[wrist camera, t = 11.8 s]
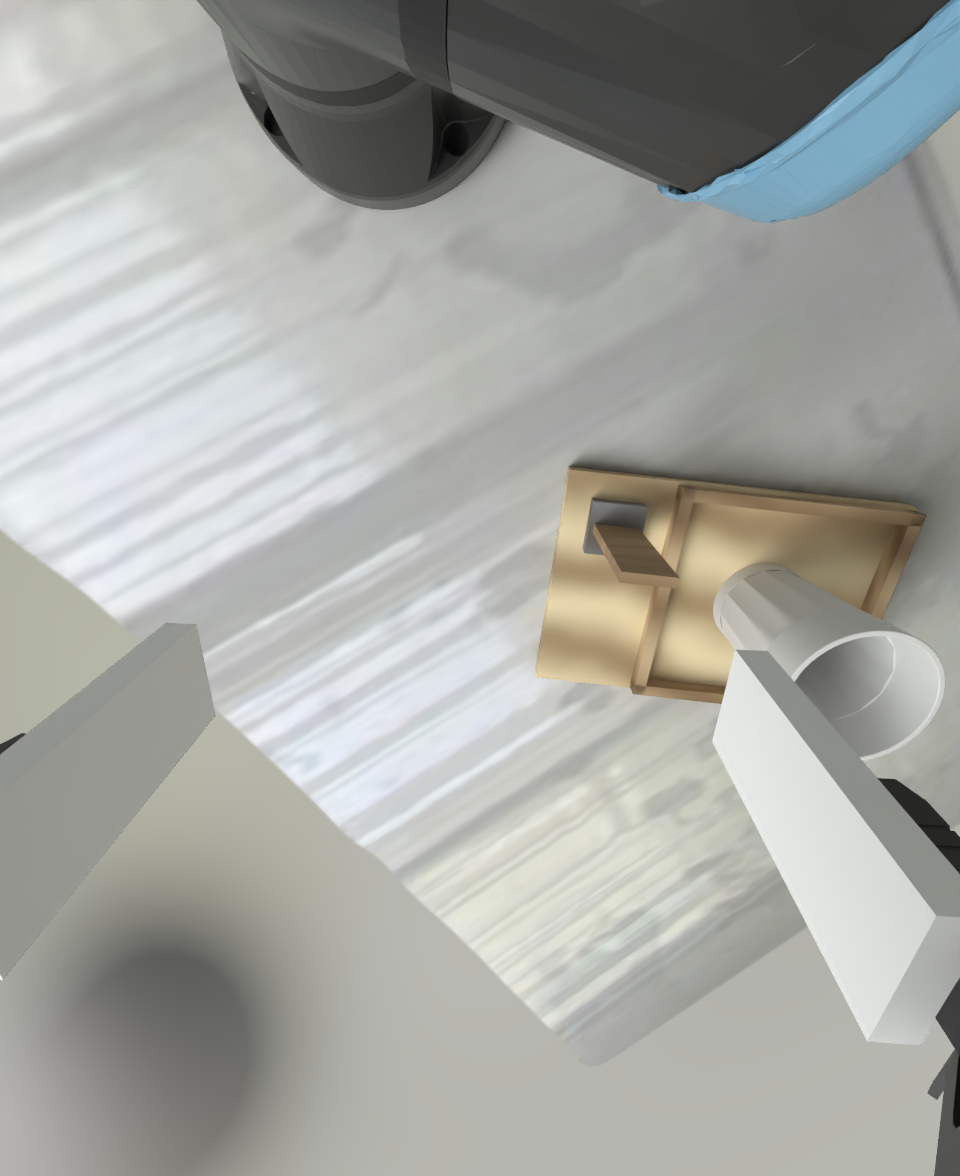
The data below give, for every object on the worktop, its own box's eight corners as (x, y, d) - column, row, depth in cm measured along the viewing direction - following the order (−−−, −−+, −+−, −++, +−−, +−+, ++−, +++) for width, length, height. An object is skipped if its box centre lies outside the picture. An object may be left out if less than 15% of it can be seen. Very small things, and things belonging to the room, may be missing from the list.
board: (568, 466, 37) (594, 506, 26) (905, 503, 37) (1062, 557, 26) (535, 669, 43) (545, 766, 32) (823, 700, 43) (925, 807, 32)
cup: (831, 555, 37) (972, 636, 26) (798, 657, 40) (911, 768, 29) (715, 547, 37) (805, 625, 26) (690, 649, 40) (762, 757, 29)
